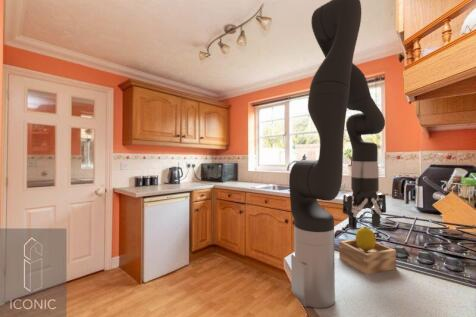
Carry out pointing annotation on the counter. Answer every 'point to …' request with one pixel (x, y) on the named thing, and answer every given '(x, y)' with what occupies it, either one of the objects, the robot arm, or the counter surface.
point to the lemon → (365, 239)
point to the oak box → (367, 257)
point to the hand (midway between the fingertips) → (364, 227)
